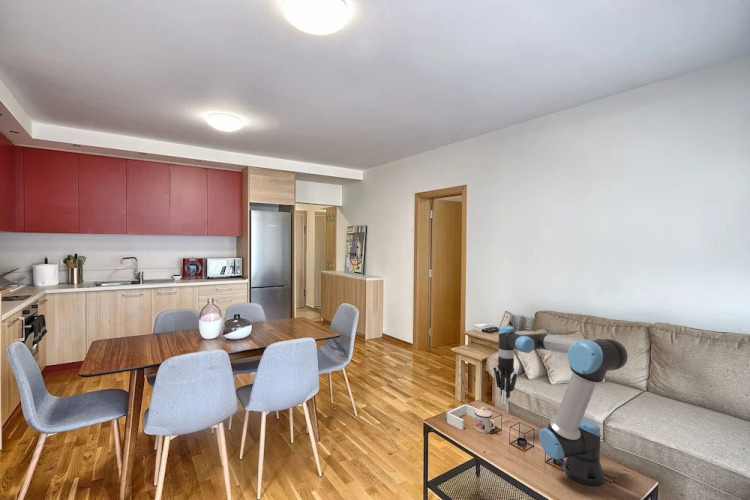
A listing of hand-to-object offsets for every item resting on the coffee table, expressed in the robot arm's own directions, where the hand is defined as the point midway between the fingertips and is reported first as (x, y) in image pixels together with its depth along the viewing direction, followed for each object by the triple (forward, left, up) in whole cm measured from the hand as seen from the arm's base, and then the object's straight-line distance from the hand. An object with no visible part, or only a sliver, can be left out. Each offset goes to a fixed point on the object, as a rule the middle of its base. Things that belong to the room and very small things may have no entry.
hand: (505, 402), depth 182 cm
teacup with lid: (+11, 0, -19) cm, 22 cm away
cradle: (+25, 0, -18) cm, 31 cm away
